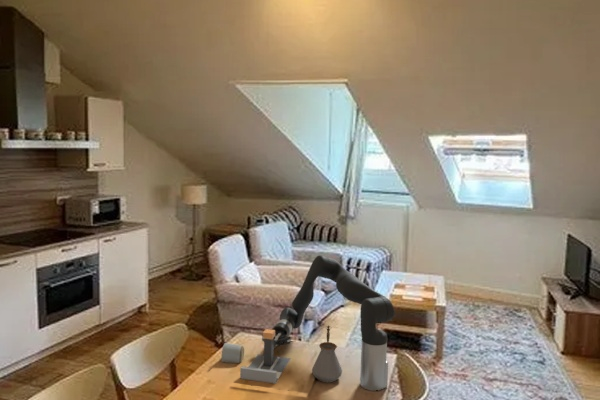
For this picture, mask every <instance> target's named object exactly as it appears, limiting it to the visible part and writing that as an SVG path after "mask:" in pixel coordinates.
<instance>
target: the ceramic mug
mask: <svg viewBox="0 0 600 400" xmlns="http://www.w3.org/2000/svg"><path fill="white" fill-rule="evenodd" d="M244 357H245V347H244V346H243V345H241V344H235V343H227V342H225V343H223V346H222V350H221V359H220V360H221V362H222V363H235V364H240V363H242V362H243V361H244Z"/></svg>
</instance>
